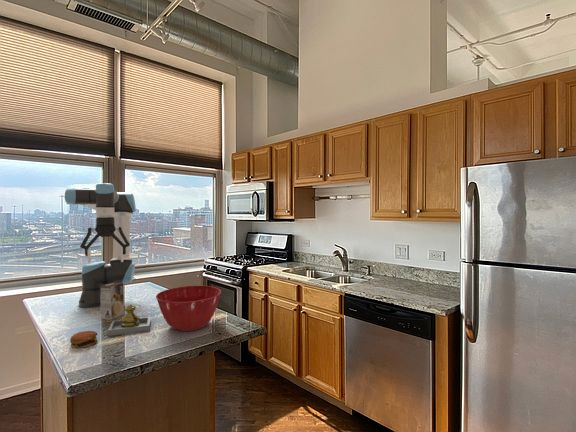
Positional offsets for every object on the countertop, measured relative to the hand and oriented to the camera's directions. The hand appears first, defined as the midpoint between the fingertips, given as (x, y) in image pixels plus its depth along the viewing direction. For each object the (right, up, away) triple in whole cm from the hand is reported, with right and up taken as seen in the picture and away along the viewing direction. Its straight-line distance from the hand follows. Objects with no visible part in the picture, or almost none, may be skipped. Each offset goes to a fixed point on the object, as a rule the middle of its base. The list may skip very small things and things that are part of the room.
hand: (106, 262), depth 156 cm
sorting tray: (+14, -29, -6) cm, 33 cm away
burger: (+4, -30, -23) cm, 38 cm away
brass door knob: (+14, -29, -6) cm, 32 cm away
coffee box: (-3, -29, +11) cm, 31 cm away
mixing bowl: (+40, -29, -3) cm, 49 cm away
